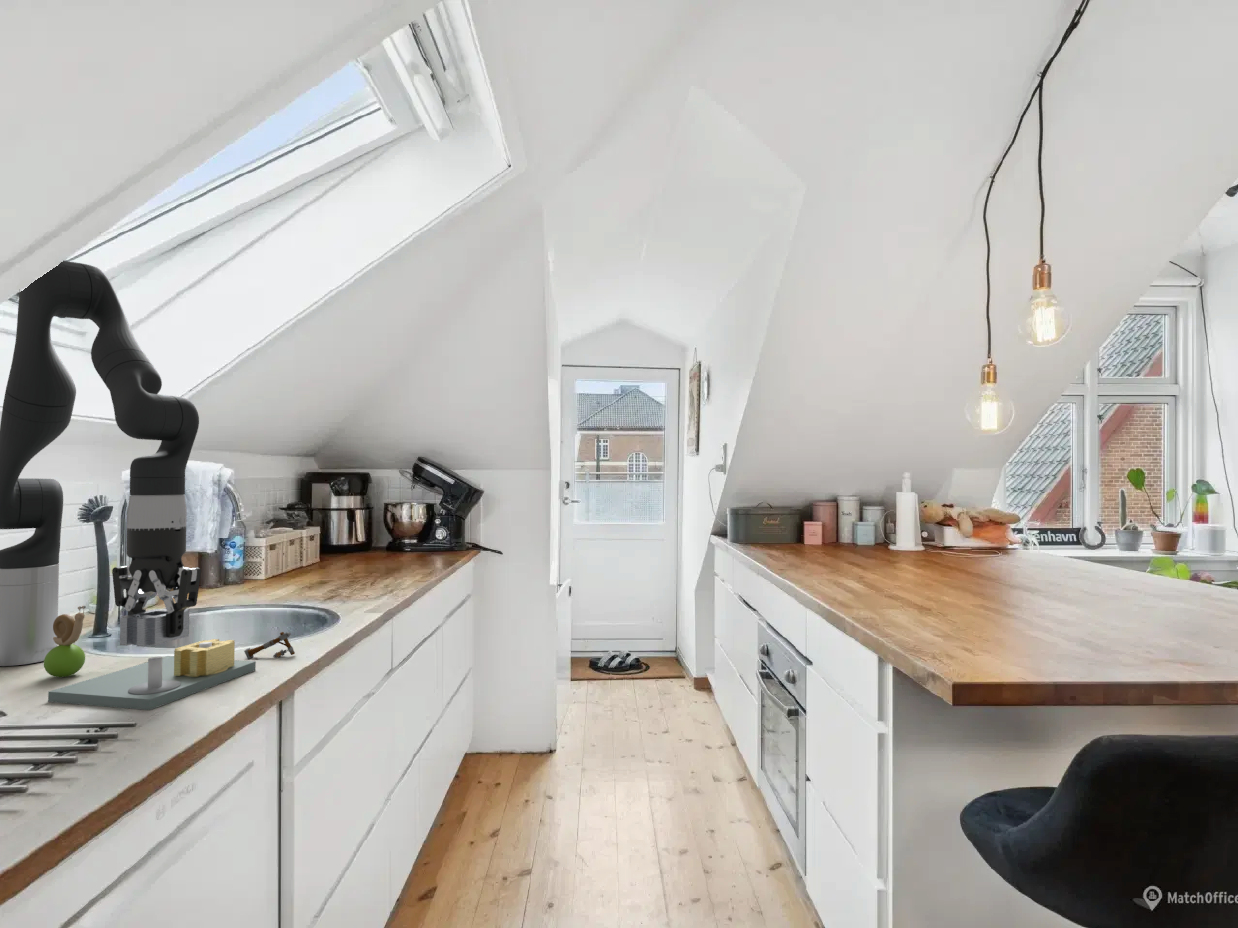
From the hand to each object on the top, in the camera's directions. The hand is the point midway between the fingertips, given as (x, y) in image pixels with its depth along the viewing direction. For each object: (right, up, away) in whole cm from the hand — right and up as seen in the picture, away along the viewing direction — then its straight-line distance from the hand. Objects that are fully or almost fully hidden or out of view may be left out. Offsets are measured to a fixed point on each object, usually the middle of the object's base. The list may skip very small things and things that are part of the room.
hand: (155, 635), depth 103 cm
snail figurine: (-22, -10, +11) cm, 27 cm away
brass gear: (+2, -8, +9) cm, 12 cm away
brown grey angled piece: (+5, -10, +24) cm, 27 cm away
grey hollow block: (0, -1, 0) cm, 1 cm away
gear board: (-4, -10, +7) cm, 12 cm away
